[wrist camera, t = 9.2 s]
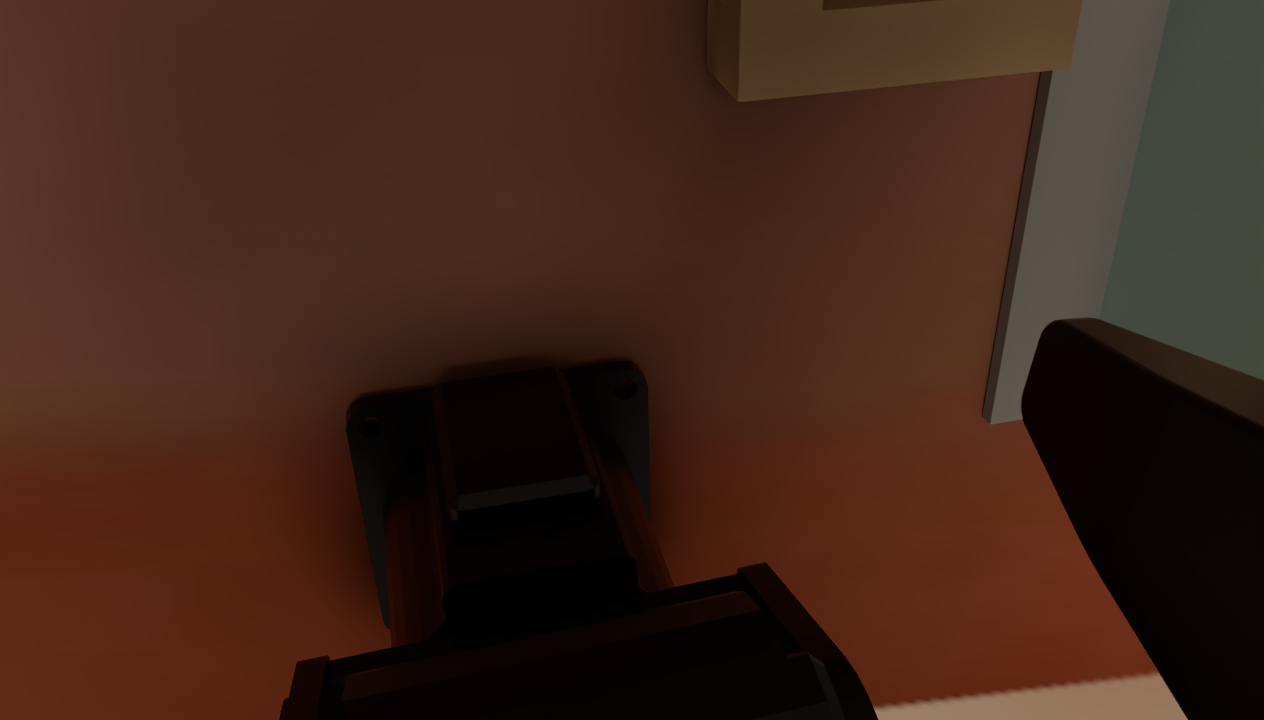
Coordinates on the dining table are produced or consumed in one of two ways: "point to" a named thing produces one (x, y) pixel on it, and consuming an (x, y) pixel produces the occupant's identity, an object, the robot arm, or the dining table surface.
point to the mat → (1074, 186)
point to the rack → (881, 43)
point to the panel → (1199, 192)
